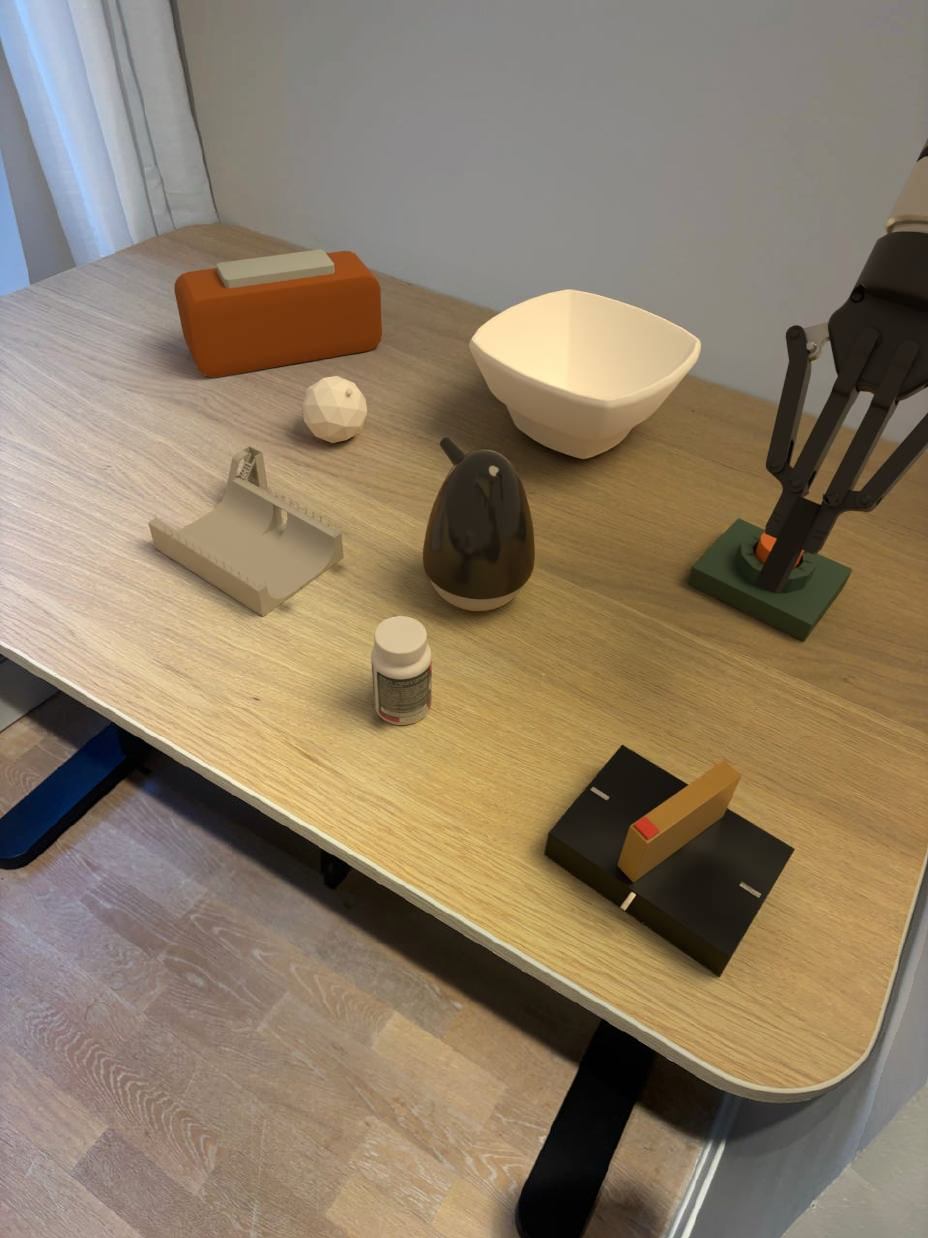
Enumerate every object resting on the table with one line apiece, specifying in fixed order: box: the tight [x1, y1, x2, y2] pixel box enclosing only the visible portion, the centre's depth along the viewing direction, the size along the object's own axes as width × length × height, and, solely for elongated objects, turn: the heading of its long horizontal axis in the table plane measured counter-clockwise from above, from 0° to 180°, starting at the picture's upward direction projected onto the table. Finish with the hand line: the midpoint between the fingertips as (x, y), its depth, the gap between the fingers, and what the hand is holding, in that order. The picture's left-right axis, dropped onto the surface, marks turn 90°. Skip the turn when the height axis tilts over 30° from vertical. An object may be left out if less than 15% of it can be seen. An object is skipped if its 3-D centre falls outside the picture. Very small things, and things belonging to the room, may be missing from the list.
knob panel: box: [543, 744, 796, 978], centre depth 62 cm, size 14×13×3 cm
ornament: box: [301, 375, 368, 444], centre depth 97 cm, size 7×7×8 cm
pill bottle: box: [370, 615, 433, 726], centre depth 69 cm, size 5×5×8 cm
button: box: [756, 532, 804, 568], centre depth 81 cm, size 4×4×2 cm
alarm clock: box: [173, 249, 383, 378], centre depth 110 cm, size 24×8×11 cm, turn 114°
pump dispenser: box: [422, 436, 536, 612], centre depth 77 cm, size 10×10×15 cm
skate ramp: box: [147, 445, 344, 617], centre depth 84 cm, size 15×13×5 cm
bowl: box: [468, 288, 702, 460], centre depth 98 cm, size 22×22×12 cm
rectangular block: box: [618, 760, 742, 882], centre depth 59 cm, size 9×2×5 cm, turn 126°
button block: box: [686, 517, 853, 642], centre depth 83 cm, size 12×10×4 cm
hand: (767, 588), depth 60 cm, fingers closed
